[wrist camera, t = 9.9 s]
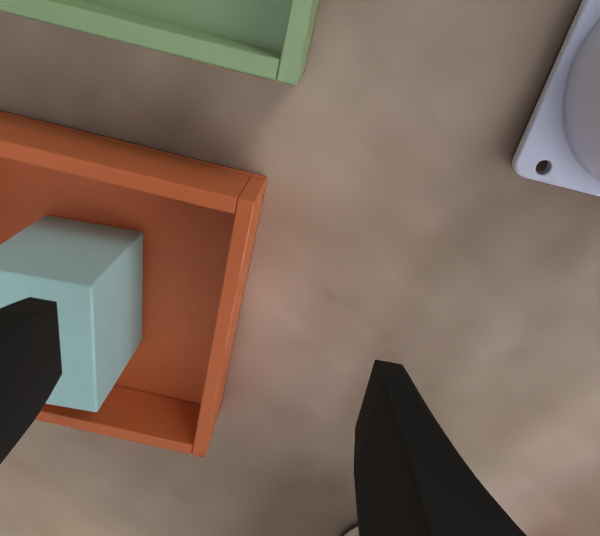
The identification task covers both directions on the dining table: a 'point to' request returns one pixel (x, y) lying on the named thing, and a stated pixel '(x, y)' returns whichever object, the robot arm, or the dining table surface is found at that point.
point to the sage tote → (195, 29)
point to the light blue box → (81, 298)
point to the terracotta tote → (147, 266)
